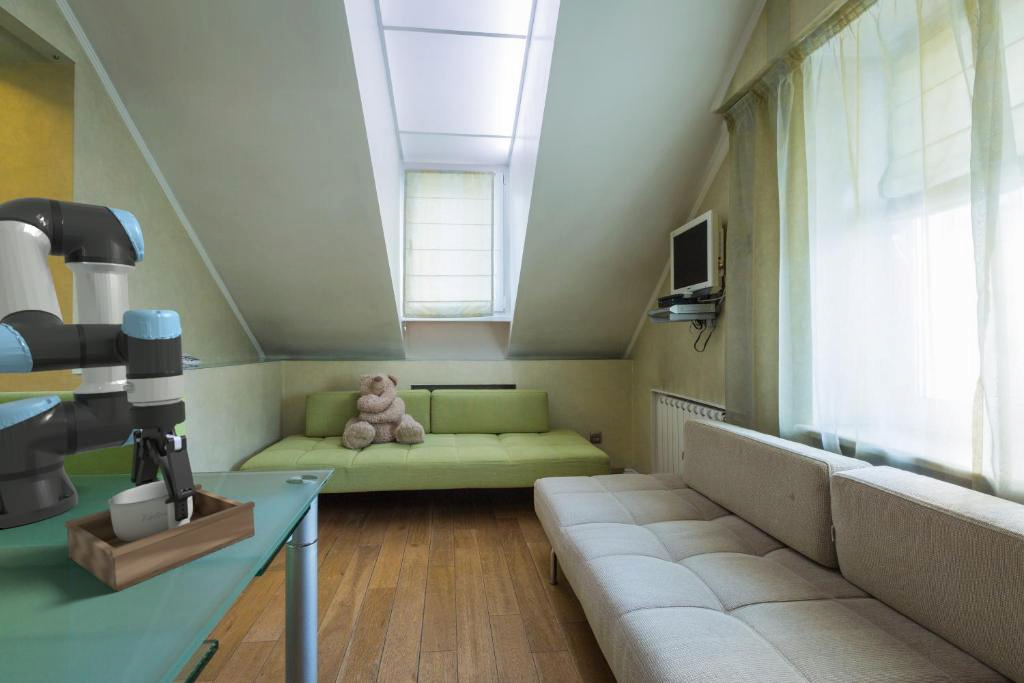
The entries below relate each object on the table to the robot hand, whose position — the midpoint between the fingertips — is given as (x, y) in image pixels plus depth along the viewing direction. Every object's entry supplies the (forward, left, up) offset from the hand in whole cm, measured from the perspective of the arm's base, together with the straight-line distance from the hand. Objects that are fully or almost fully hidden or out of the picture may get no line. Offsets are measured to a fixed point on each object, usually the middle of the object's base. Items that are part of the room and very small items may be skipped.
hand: (164, 531), depth 75 cm
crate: (0, 0, -2) cm, 2 cm away
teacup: (-1, 0, 0) cm, 1 cm away
